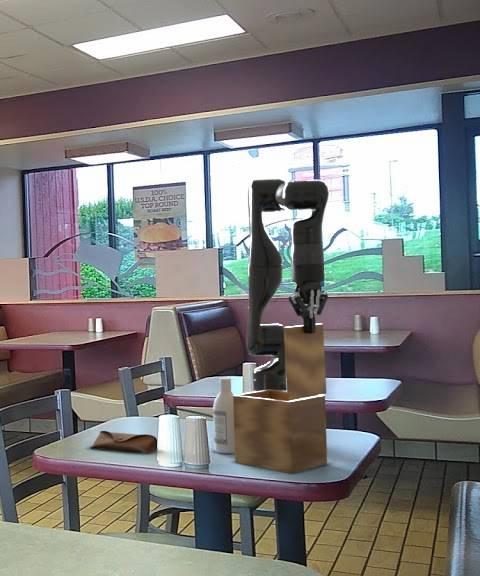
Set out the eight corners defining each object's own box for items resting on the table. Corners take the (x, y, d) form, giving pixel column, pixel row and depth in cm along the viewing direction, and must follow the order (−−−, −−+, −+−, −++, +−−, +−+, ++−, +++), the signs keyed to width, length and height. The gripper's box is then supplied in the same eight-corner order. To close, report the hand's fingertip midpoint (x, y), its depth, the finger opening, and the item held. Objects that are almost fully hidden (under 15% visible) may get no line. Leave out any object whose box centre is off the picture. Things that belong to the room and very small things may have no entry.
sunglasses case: (87, 447, 234) (92, 425, 237) (96, 455, 239) (101, 433, 242) (147, 452, 224) (151, 429, 227) (155, 461, 229) (159, 438, 232)
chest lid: (283, 327, 198) (286, 327, 197) (319, 323, 206) (323, 323, 206) (287, 399, 198) (290, 400, 197) (323, 393, 206) (326, 393, 205)
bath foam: (236, 448, 228) (234, 376, 228) (244, 453, 221) (241, 379, 221) (211, 449, 228) (209, 377, 228) (218, 454, 221) (215, 380, 221)
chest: (235, 462, 212) (233, 395, 211) (271, 453, 220) (269, 389, 220) (291, 473, 198) (288, 401, 198) (327, 464, 206) (325, 395, 206)
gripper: (310, 262, 207) (312, 331, 207) (277, 263, 200) (279, 334, 200) (337, 261, 201) (339, 332, 201) (304, 262, 194) (307, 336, 194)
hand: (309, 333), depth 201 cm, fingers closed
